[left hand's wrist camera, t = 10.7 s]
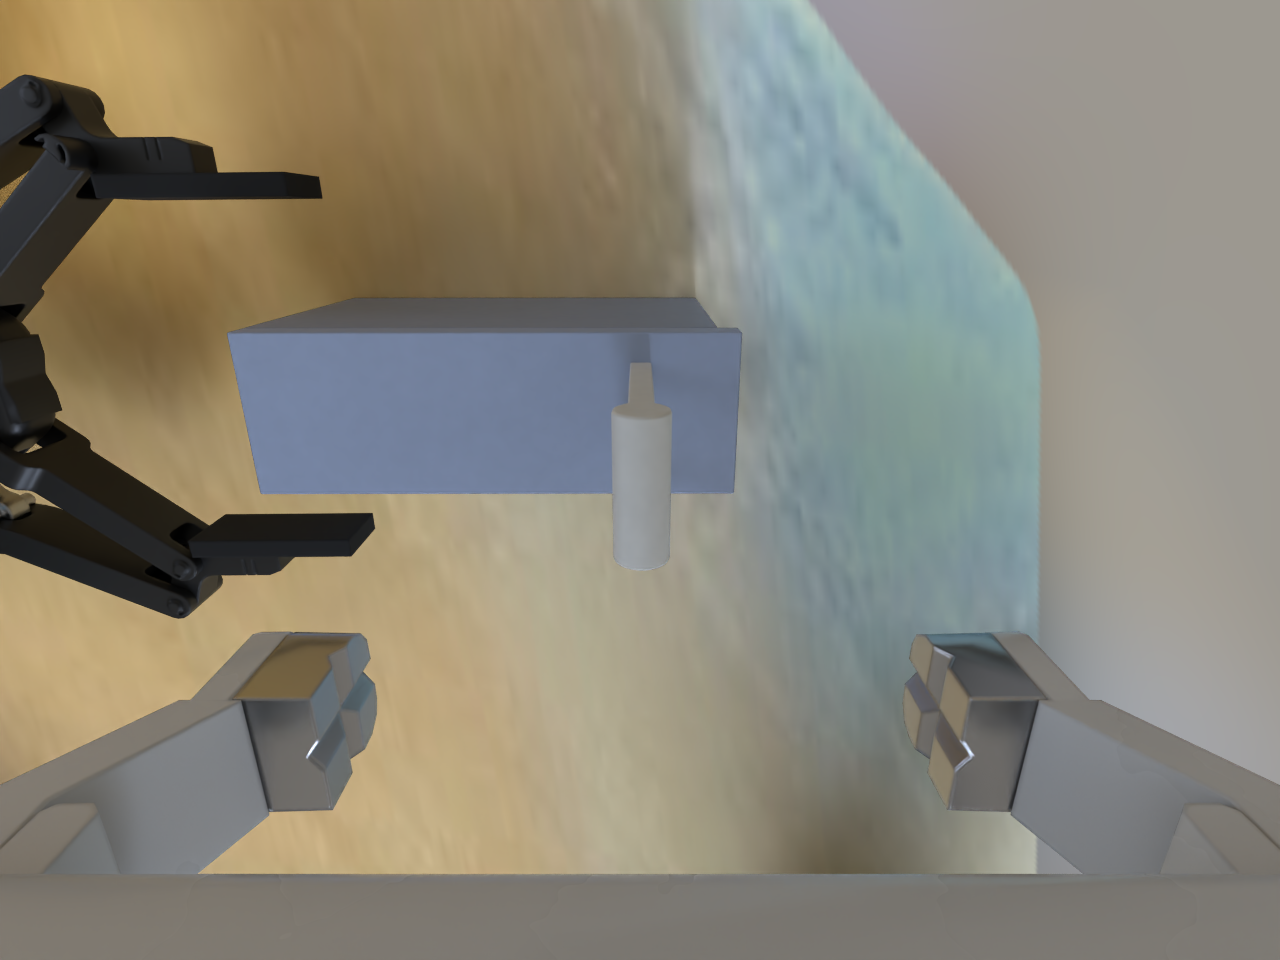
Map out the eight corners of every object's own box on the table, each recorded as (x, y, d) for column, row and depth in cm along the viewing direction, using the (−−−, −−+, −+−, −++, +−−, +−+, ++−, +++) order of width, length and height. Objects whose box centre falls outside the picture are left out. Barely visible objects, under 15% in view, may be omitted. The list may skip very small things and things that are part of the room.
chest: (696, 297, 32) (718, 327, 23) (692, 414, 34) (712, 483, 25) (353, 297, 32) (242, 327, 23) (370, 414, 34) (274, 484, 25)
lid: (738, 327, 23) (788, 380, 15) (730, 483, 25) (771, 600, 17) (242, 327, 23) (43, 382, 15) (274, 484, 25) (112, 601, 17)
